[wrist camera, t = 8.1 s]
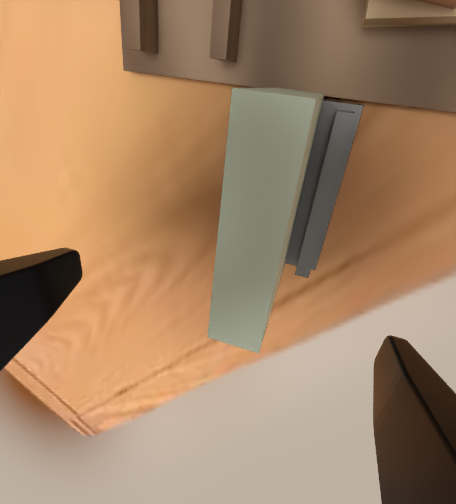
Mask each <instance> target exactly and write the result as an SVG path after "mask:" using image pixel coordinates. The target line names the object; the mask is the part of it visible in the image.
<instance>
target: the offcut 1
mask: <svg viewBox="0 0 456 504" xmlns="http://www.w3.org/2000/svg"><path fill="white" fill-rule="evenodd" d="M435 25H456V8H455V9H451V8H446V7H442V6H438V5H434V4H430V3H425V2H421V1H417V0H366V6H365V11H364V16H363V22H362V27H393V26H435Z"/></svg>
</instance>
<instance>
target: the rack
mask: <svg viewBox="0 0 456 504" xmlns="http://www.w3.org/2000/svg"><path fill="white" fill-rule="evenodd" d="M365 6H366V0H120V16H121V33H122V50H123V67H124V71H131V72H139V73H147V74H155V75H163V76H171V77H179V78H186V79H194V80H202V81H210V82H218V83H226V84H234V85H242V86H250V87H258V88H284V89H292V90H300V91H308V92H316V93H323V94H324V96H329V97H337V98H345V99H353V100H361V101H369V102H377V103H385V104H392V105H400V106H408V107H416V108H424V109H432V110H440V111H448V112H456V25H435V26H393V27H362V22H363V16H364V11H365Z"/></svg>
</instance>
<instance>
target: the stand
mask: <svg viewBox="0 0 456 504" xmlns="http://www.w3.org/2000/svg"><path fill="white" fill-rule="evenodd" d="M363 107H364V105H360V104H352V103H345V102H337V101H329V100H323V102H322V107H321V111H320V115H319V119H318V124H317V128H316V132H315V136H314V141H313V145H312V149H311V153H310V158H309V162H308V166H307V170H306V175H305V179H304V183H303V188H302V192H301V196H300V200H299V205H298V209H297V213H296V217H295V222H294V226H293V230H292V234H291V239H290V243H289V247H288V252H287V256H286V260H285V263H287V264H292V265H296V266H297V267H296V272H295V275H298V276H302V277H306V278H308V277H309V274H310V270H311V269H312V270H315V269H316V266H317V263H318V259H319V256H320V252H321V249H322V246H323V242H324V239H325V236H326V232H327V229H328V225H329V222H330V219H331V215H332V212H333V208H334V205H335V202H336V198H337V195H338V191H339V188H340V185H341V181H342V178H343V175H344V171H345V168H346V164H347V161H348V158H349V154H350V151H351V147H352V144H353V141H354V137H355V134H356V131H357V127H358V124H359V120H360V117H361V114H362V110H363Z"/></svg>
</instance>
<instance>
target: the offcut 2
mask: <svg viewBox="0 0 456 504" xmlns="http://www.w3.org/2000/svg"><path fill="white" fill-rule="evenodd" d="M417 1H421V2H425V3H430V4H434V5H438V6H442V7H446V8H451V9H455V8H456V0H417Z"/></svg>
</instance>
